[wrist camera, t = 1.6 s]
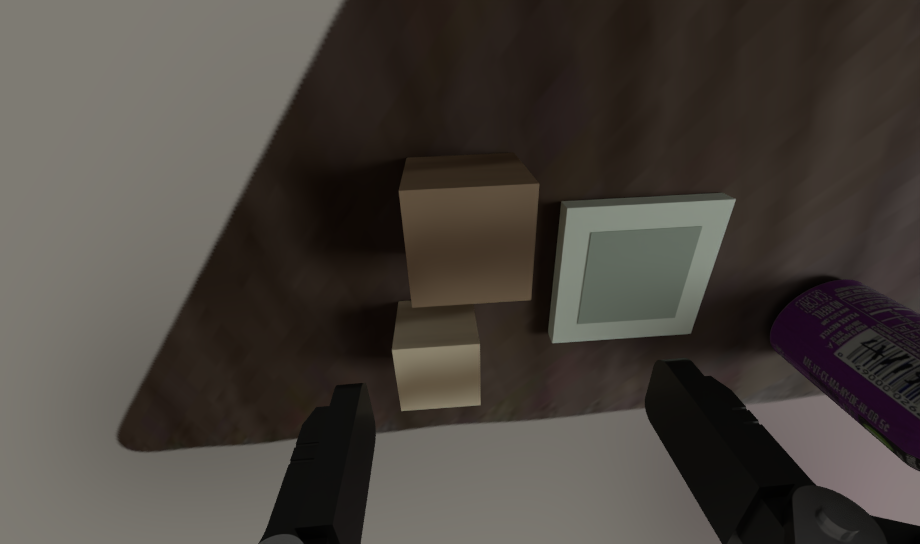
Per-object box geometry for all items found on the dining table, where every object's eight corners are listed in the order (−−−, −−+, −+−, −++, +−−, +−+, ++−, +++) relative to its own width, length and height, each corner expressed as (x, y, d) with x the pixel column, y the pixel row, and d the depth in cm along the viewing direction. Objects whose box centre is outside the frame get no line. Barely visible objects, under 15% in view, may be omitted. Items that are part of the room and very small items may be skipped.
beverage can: (755, 359, 31) (920, 514, 20) (770, 286, 27) (977, 430, 17) (846, 339, 30) (1061, 488, 20) (873, 263, 27) (1151, 396, 17)
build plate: (561, 201, 23) (567, 208, 22) (722, 192, 24) (736, 199, 22) (547, 332, 28) (552, 343, 27) (681, 323, 29) (691, 334, 27)
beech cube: (398, 300, 26) (391, 349, 22) (471, 296, 26) (479, 343, 22) (406, 356, 29) (401, 410, 24) (473, 352, 29) (480, 405, 24)
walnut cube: (406, 157, 21) (398, 190, 16) (513, 152, 22) (539, 183, 16) (416, 253, 24) (411, 307, 19) (509, 247, 25) (531, 300, 19)
